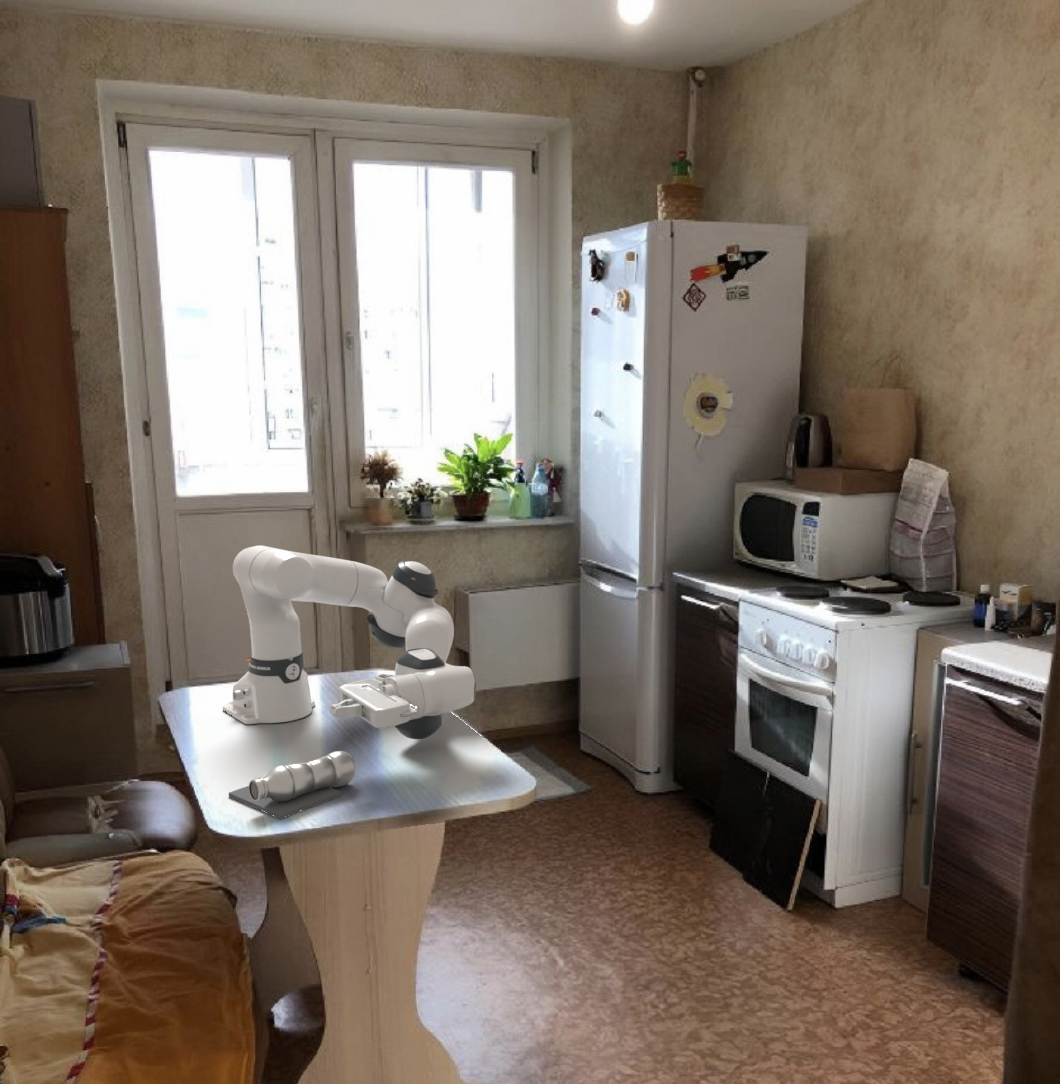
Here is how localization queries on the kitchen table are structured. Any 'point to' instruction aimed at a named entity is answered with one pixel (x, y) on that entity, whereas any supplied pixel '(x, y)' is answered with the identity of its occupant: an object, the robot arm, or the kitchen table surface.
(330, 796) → the mat
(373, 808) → the kitchen table surface
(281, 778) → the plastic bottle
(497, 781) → the kitchen table surface
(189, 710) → the kitchen table surface
